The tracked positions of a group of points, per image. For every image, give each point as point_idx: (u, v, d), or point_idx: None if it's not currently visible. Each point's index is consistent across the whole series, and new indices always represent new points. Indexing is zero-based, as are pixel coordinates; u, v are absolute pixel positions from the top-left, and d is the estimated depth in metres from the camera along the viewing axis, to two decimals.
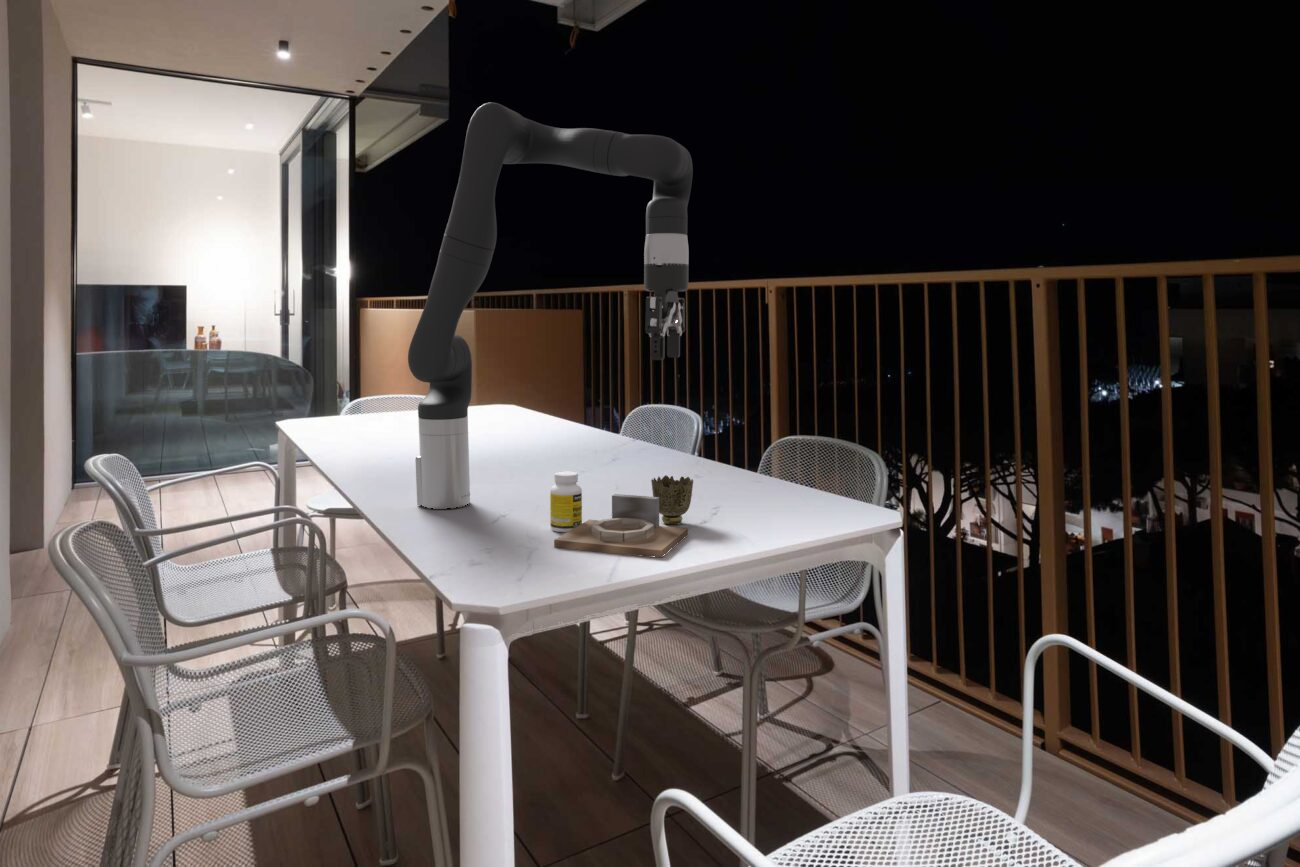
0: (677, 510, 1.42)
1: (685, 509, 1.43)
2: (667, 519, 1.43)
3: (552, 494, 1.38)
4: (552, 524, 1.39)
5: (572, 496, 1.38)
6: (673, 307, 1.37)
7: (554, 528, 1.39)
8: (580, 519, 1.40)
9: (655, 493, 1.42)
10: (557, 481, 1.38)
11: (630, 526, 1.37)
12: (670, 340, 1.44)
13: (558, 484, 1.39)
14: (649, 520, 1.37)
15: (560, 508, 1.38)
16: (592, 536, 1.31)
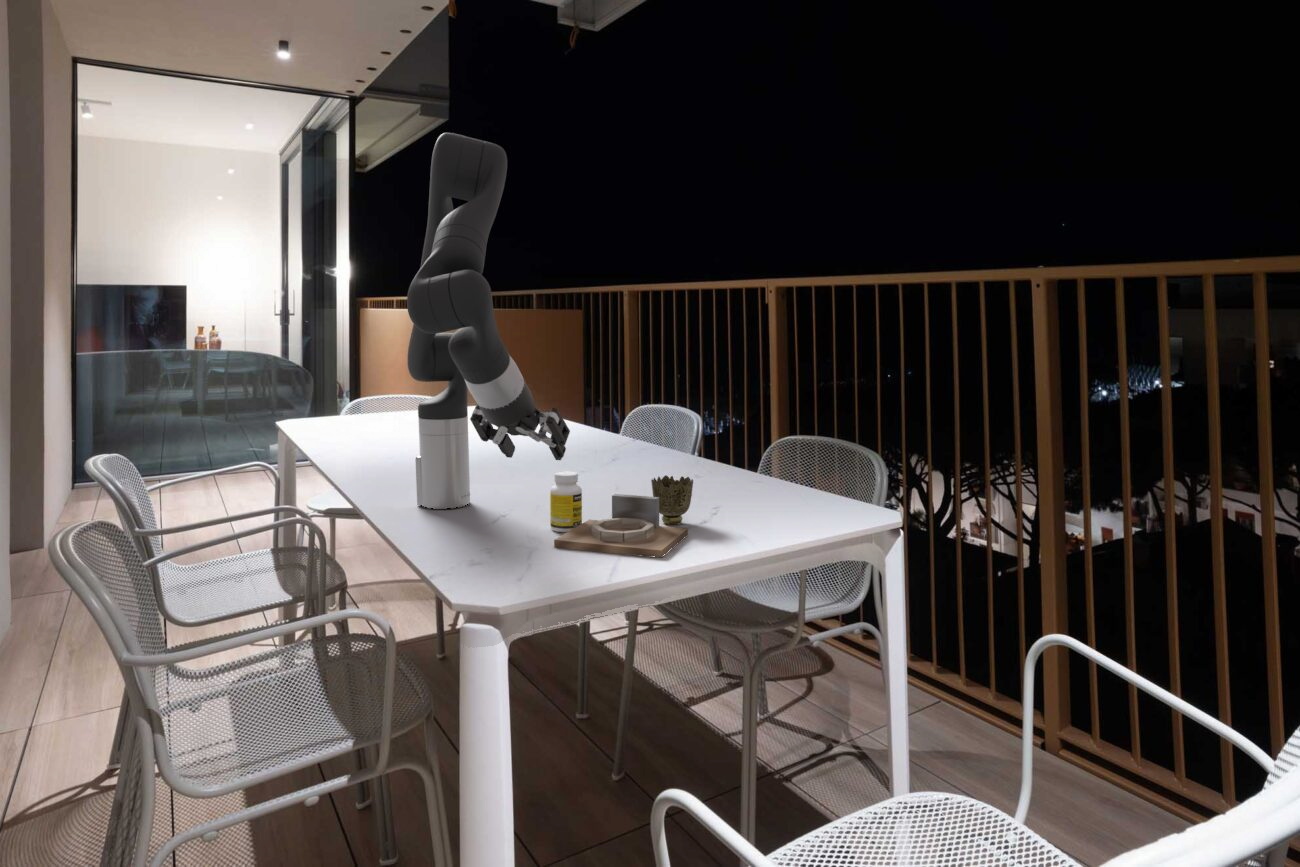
0: (677, 510, 1.42)
1: (685, 509, 1.43)
2: (667, 519, 1.43)
3: (552, 494, 1.38)
4: (552, 524, 1.39)
5: (572, 496, 1.38)
6: (501, 429, 1.21)
7: (554, 528, 1.39)
8: (580, 519, 1.40)
9: (655, 493, 1.42)
10: (557, 481, 1.38)
11: (630, 526, 1.37)
12: None
13: (558, 484, 1.39)
14: (649, 520, 1.37)
15: (560, 508, 1.38)
16: (592, 536, 1.31)
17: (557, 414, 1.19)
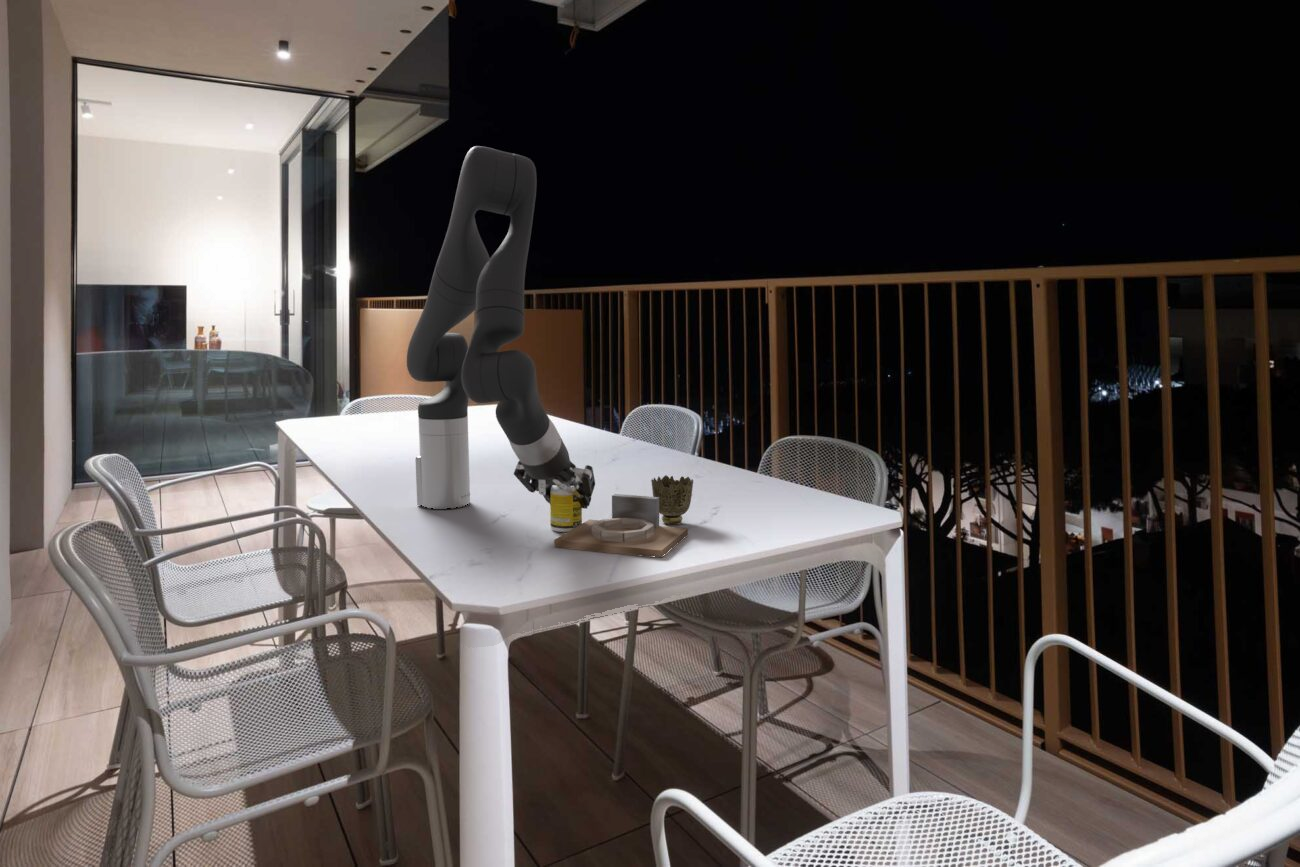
0: (677, 510, 1.42)
1: (685, 509, 1.43)
2: (667, 519, 1.43)
3: (552, 494, 1.38)
4: (552, 524, 1.39)
5: (572, 496, 1.38)
6: (540, 481, 1.35)
7: (554, 528, 1.39)
8: (580, 519, 1.40)
9: (655, 493, 1.42)
10: None
11: (630, 526, 1.37)
12: None
13: None
14: (649, 520, 1.37)
15: (560, 508, 1.38)
16: (592, 536, 1.31)
17: (591, 472, 1.33)
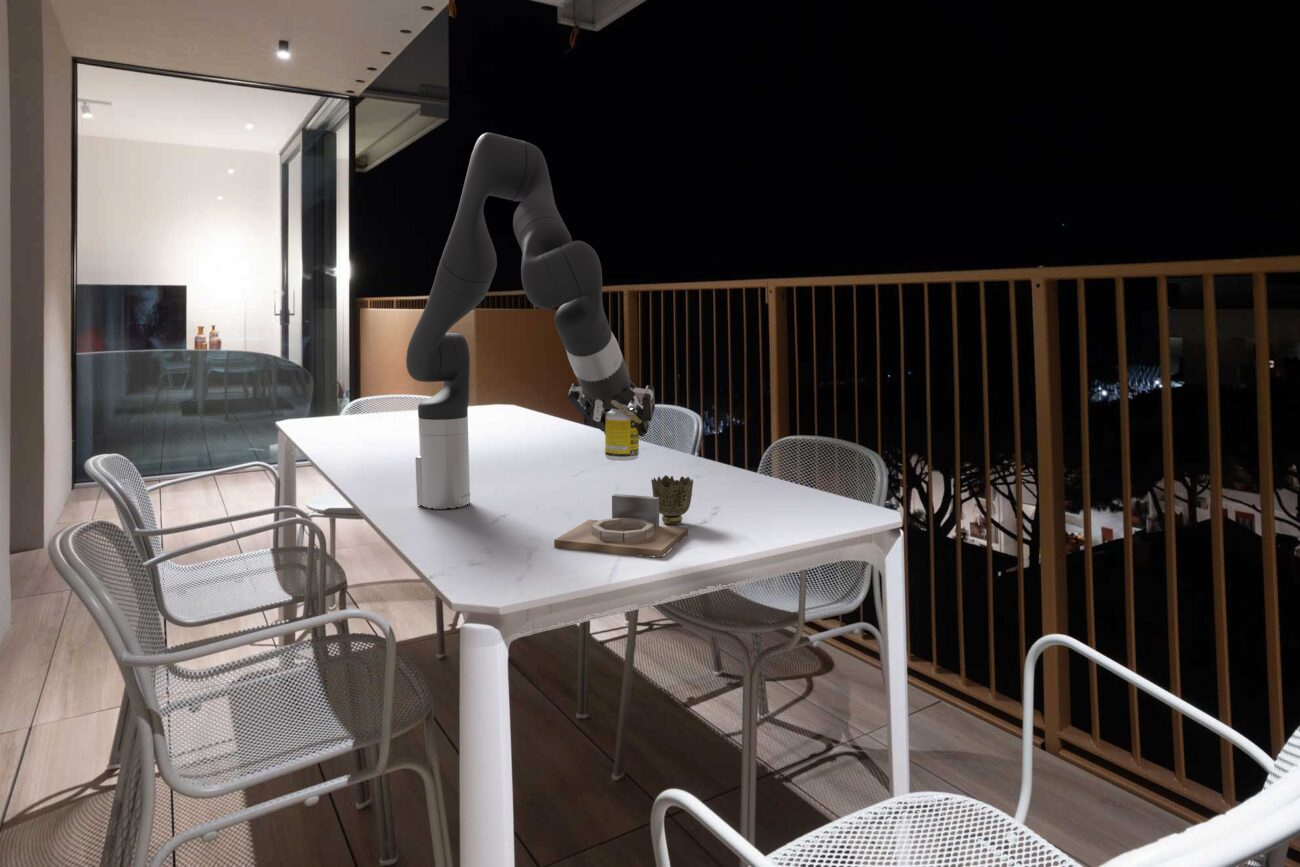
0: (677, 510, 1.42)
1: (685, 509, 1.43)
2: (667, 519, 1.43)
3: (608, 419, 1.29)
4: (607, 452, 1.29)
5: (630, 421, 1.28)
6: (597, 403, 1.25)
7: (610, 456, 1.29)
8: (637, 447, 1.30)
9: (655, 493, 1.42)
10: None
11: (630, 526, 1.37)
12: None
13: (614, 409, 1.29)
14: (649, 520, 1.37)
15: (617, 435, 1.28)
16: (592, 536, 1.31)
17: (652, 392, 1.24)
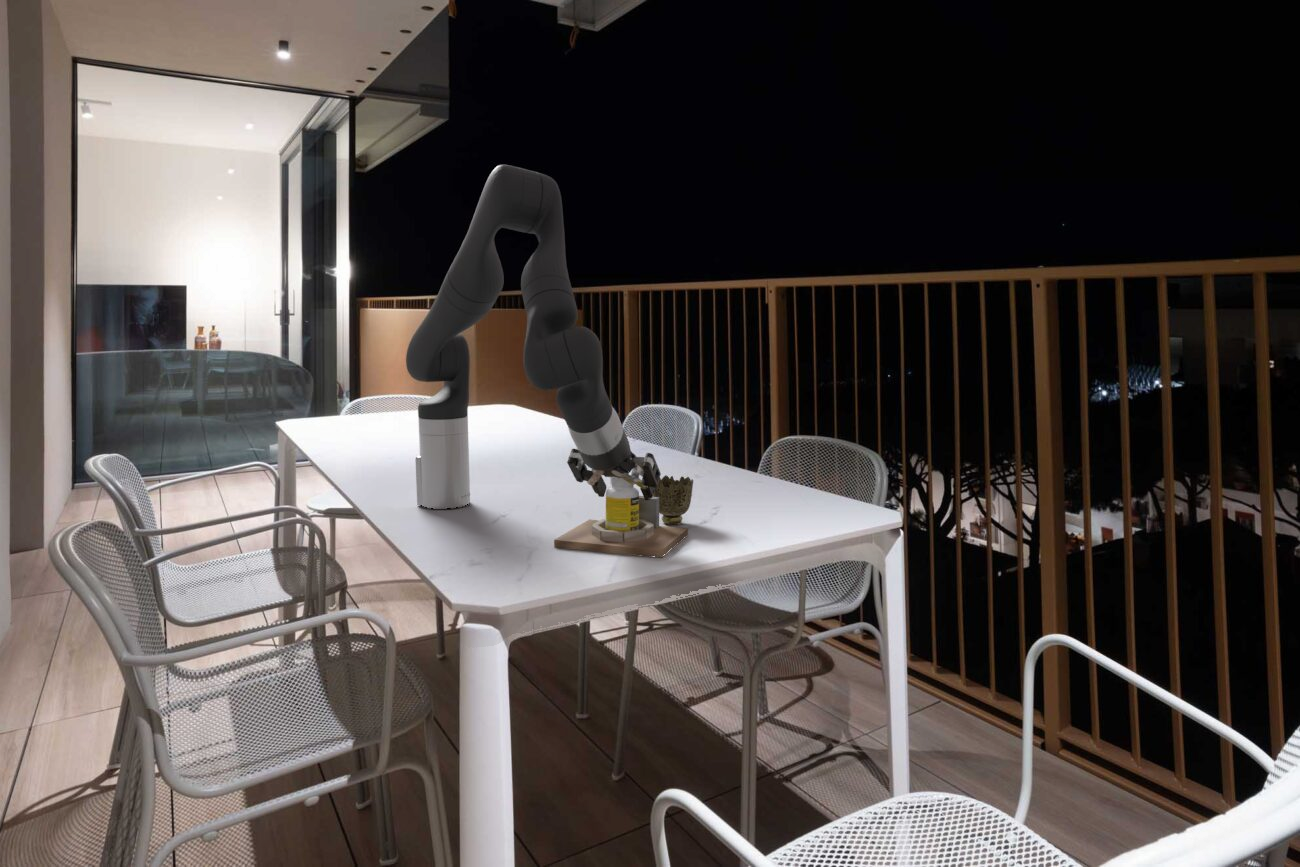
0: (677, 510, 1.42)
1: (685, 509, 1.43)
2: (667, 519, 1.43)
3: (608, 497, 1.30)
4: (608, 529, 1.31)
5: (630, 499, 1.30)
6: (597, 472, 1.26)
7: None
8: (637, 524, 1.32)
9: (655, 493, 1.42)
10: (614, 483, 1.30)
11: None
12: None
13: (615, 486, 1.31)
14: (649, 520, 1.37)
15: (617, 512, 1.30)
16: (592, 536, 1.31)
17: (652, 459, 1.24)
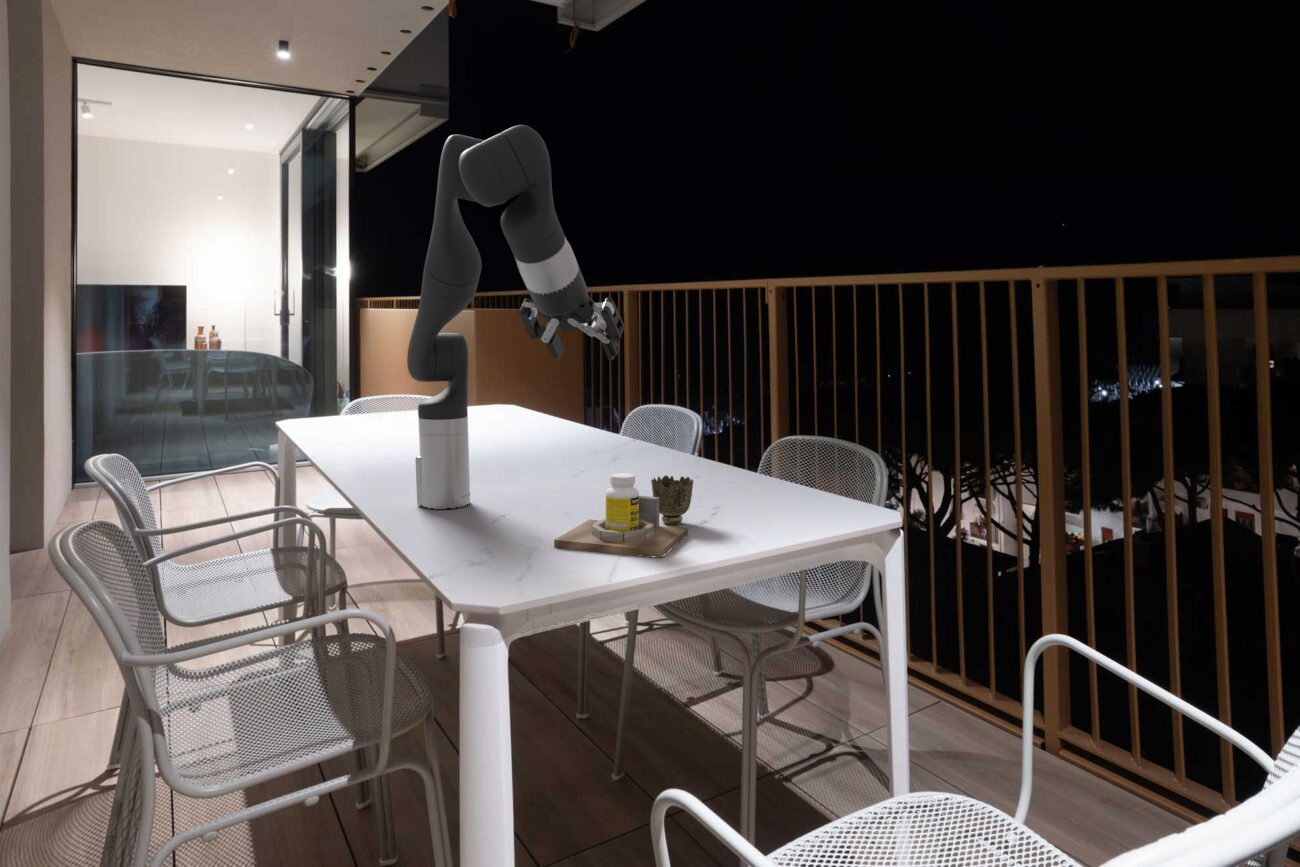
0: (677, 510, 1.42)
1: (685, 509, 1.43)
2: (667, 519, 1.43)
3: (608, 497, 1.30)
4: (608, 529, 1.31)
5: (630, 499, 1.30)
6: (552, 322, 1.14)
7: None
8: (637, 524, 1.32)
9: (655, 493, 1.42)
10: (613, 483, 1.30)
11: None
12: None
13: (614, 486, 1.31)
14: (649, 520, 1.37)
15: (617, 512, 1.30)
16: (592, 536, 1.31)
17: (613, 305, 1.11)
